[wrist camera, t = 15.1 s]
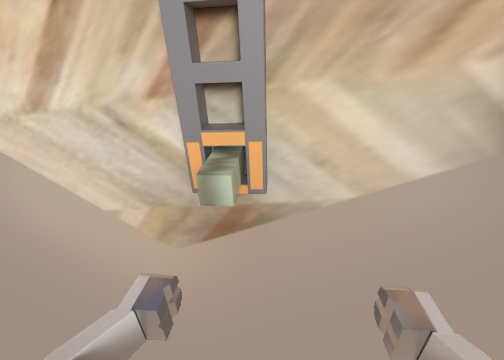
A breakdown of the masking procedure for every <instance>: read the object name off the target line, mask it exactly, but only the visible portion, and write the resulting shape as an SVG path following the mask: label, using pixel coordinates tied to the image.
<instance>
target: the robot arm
mask: <svg viewBox="0 0 504 360" xmlns="http://www.w3.org/2000/svg"><path fill="white" fill-rule="evenodd" d="M178 282H179V281H178V277H177V276H169V275H157V274H143V273H142V274H140V275H139V276H138V277H137V279H136V280H135V282H134V283H133V285H132V286H131V288H130V290H129V291H128V293H127V294H126V296H125V297H124V299H123V300H122V302H121V303H120V305H119V307H118V308H117V309H113V310H111V311H110V312H108V313H107V314H106V315H104V316H103V317H101V318H100V319H98V320H97V321H96V322H94V323H93V324H92V325H90V326H89V327H87V328H86V329H85V330H83V331H82V332H80V333H79V334H77V335H76V336H75V337H73V338H72V339H70V340H69V341H68V342H66V343H65V344H63V345H62V346H61V347H59V348H58V349H56V350H55V351H54V352H52V353H51V354H49V355H48V356H47V357H45V358H44V359H43V360H128V359H129V358H130V357H131V356H132V355H133V354H134V353H135V352H136V351H137V350H138V349H139V348H140V347H141V346H142V345H143V344H144V343H145V342H146V340H164V341H167V339H168V336H169V334H170V331H171V329H172V326H173V320H172V318H173V317H174V316H175V315H176V314H177V313H178V311H179V308H180V305H181V299H182V292H181V289H180V288H179V287H178V286H177V285H178ZM378 295H379V297H380V298H379V299H378V300H376V301H375V305H374V315H375V319H376V322H377V325H378V328H379V329H381V331H382V332H383V333H384V334H385V335H384V339H383V342H384V344H385V347H386V349H387V352H388V355H389V357H390V360H492V359H491V358H490V357H488V356H487V355H486V354H484V353H483V352H482V351H480V350H479V349H478V348H477V347H475V346H474V345H473V344H471V343H470V342H469V341H467V340H466V339H465V338H464V337H462V336H461V335H460V334H454V332H453V331H452V329H451V328H450V326H449V324H448V323H447V321H446V320H445V318H444V317H443V315H442V314H441V312H440V310H439V309H438V307H437V306H436V304H435V303H434V301H433V300H432V298H431V297H430V295H429V294H428V292H427V291H426V290H424V289H411V288H394V287H381V288H380V289H379V291H378Z"/></svg>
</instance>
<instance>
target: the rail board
mask: <svg viewBox="0 0 504 360" xmlns="http://www.w3.org/2000/svg"><path fill="white" fill-rule="evenodd" d="M232 5H238V20H239V38H240V56H241V61H221V62H201V61H200V53H199V45H198V37H197V29H196V21H195V13H194V8H203V7H217V6H232ZM159 6H160V11H161V17H162V22H163V28H164V34H165V39H166V45H167V50H168V56H169V61H170V67H171V73H172V78H173V84H174V89H175V95H176V101H177V106H178V112H179V117H180V123H181V129H182V134H183V140H184V145H185V151H186V157H187V162H188V168H189V173H190V179H191V184H192V190H193V193H199V192H198V186H197V180H196V174H197V173H198V171H199V170H200V168H201V167H202V166H203V164H204V163H205V161H206V160H207V158H208V157H209V156H210V154H211V153H212V149H211V146H246V163H247V174H243V177H242V181H241V184H240V187H239V191H238V194H266V191H267V124H266V45H265V0H159ZM222 82H242V91H243V109H244V123H226V124H208V117H207V109H206V101H205V93H204V85H203V83H222Z"/></svg>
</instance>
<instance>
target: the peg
mask: <svg viewBox="0 0 504 360" xmlns="http://www.w3.org/2000/svg"><path fill="white" fill-rule="evenodd" d="M244 171H245V156H244V146H216V147H215V149H214V150H213V151H212V153H211V154H210V156H209V157H208V158H207V160H206V161H205V163H204V164H203V166H202V167H201V168H200V170H199V171H198V173H197V174H196V180H197V186H198V192H199V198H200V204H201V205H204V206H234V204H235V201H236V197H237V194H238V191H239V187H240V184H241V181H242V177H243V174H244Z"/></svg>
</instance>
